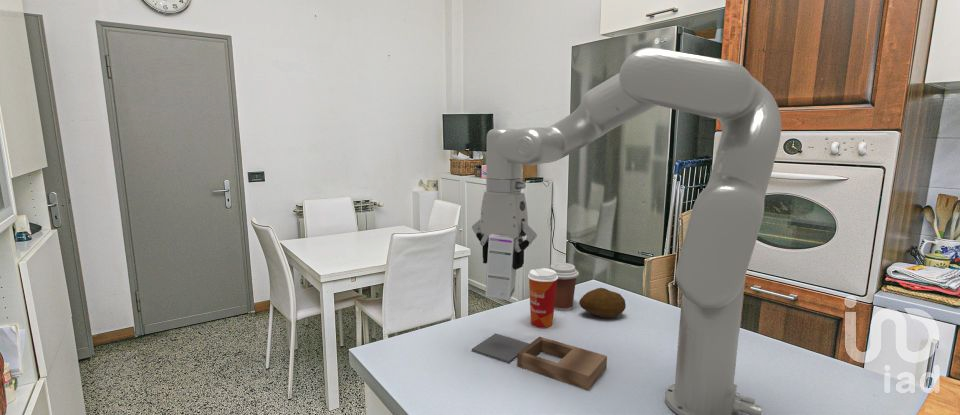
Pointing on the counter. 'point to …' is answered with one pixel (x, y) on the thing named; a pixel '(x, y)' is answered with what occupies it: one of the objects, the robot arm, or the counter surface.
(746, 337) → the counter surface
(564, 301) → the coffee cup
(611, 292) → the potato
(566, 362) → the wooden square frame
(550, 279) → the paper cup
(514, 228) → the robot arm
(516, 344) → the rubber mat
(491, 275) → the syrup box
